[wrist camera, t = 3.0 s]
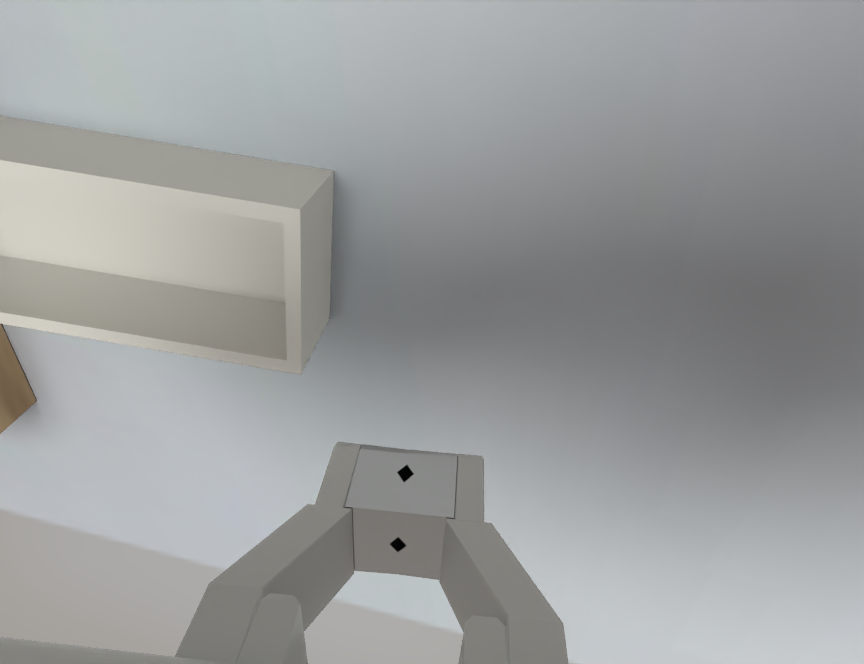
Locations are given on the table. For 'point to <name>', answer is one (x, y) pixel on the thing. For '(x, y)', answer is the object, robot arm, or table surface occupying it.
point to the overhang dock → (12, 385)
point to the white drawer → (163, 245)
